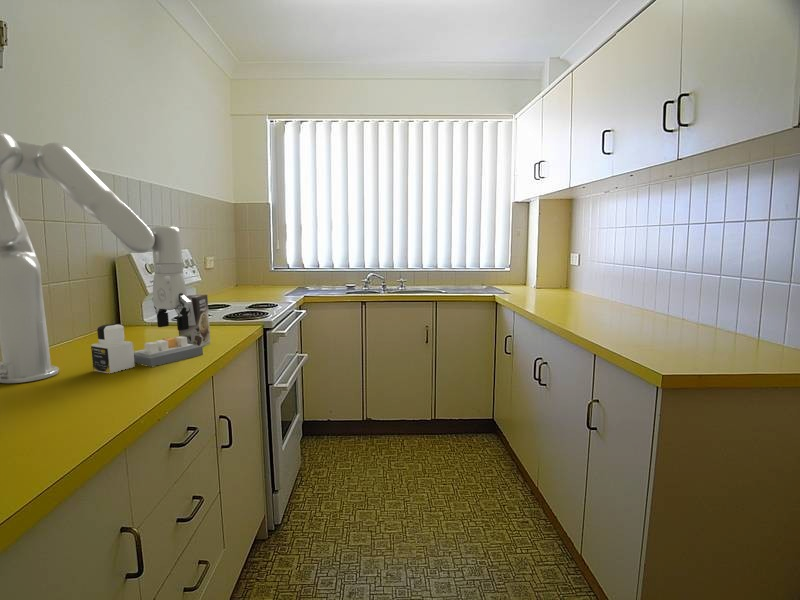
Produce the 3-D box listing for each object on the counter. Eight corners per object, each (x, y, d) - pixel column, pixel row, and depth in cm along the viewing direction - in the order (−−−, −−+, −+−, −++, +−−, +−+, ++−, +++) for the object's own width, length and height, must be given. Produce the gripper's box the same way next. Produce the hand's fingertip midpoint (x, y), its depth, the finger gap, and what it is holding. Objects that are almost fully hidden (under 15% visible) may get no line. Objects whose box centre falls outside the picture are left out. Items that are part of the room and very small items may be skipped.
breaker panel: (151, 367, 132) (149, 347, 132) (126, 361, 139) (125, 342, 138) (202, 354, 146) (201, 336, 145) (178, 349, 152) (177, 332, 151)
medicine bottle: (92, 371, 130) (88, 326, 128) (119, 364, 136) (115, 321, 134) (109, 374, 126) (105, 328, 125) (135, 367, 132) (131, 323, 131)
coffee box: (199, 349, 152) (196, 297, 150) (179, 349, 153) (175, 298, 150) (211, 342, 161) (208, 294, 159) (192, 343, 162) (188, 294, 159)
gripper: (139, 269, 143) (144, 327, 145) (174, 271, 133) (179, 333, 136) (163, 267, 149) (167, 323, 151) (198, 269, 140) (202, 328, 142)
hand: (173, 328), depth 144 cm, fingers open, 9 cm apart
